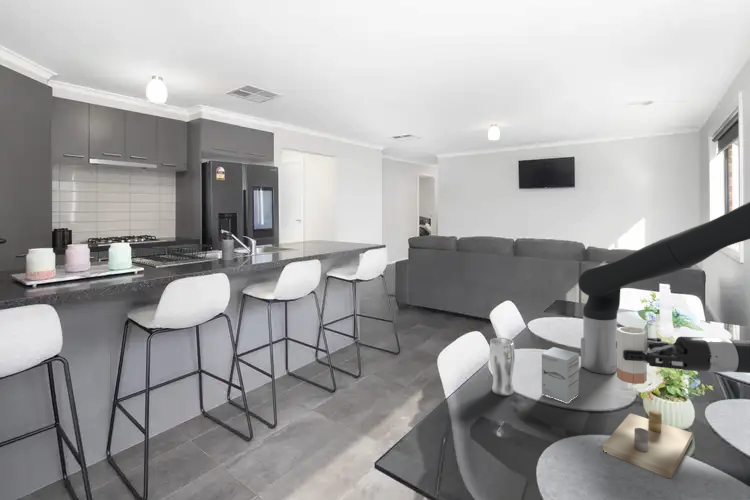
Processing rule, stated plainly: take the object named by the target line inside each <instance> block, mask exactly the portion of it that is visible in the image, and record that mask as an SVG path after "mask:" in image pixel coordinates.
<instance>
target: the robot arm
mask: <svg viewBox="0 0 750 500" xmlns="http://www.w3.org/2000/svg"><path fill="white" fill-rule="evenodd" d="M749 240H750V201H748V202H747V203H744V204H742V205H740V206H738V207H736V208H735V209H732V210H730V211H729V212H727V213H725V214H723V215H720V216H718V217H716V218H714V219H712V220H709V221H707V222H704V223H701V224H699V225H696V226H694V227H691V228H688V229H685V230H683V231H680V232H678V233H675V234H673V235H670V236H668V237H667V236H666V237H665V238H662V239H659V240H656V241H655V242H652V243H651V244H648V245H646V246H644V247H641V248H640V249H637V250H636V251H634V252H632V253H630V254H628V255H626V256H624V257H621V258H620V259H618V260H616V261H612V262H609V263H607V264H601V265H596V266H593V267H590V268H587V269H586V270H584V271H582V273H581V275H580V276H579V278H578V288H579V290H580V291H581V292H582V293H583V294H585V295H587V296H588V298H587V301H586V303H585V305H584V306H583V309H582V314H583V321H582V322H583V323H582V325H583V327H582V328H583V329H582V330H583V331H582V332H583V334H582V336H583V337H581V338H580V367H581V368H583V367H584V368H583V369H585V370H587V371H589V372H593V373H596V374H601V375H603V374H604V375H610V374H615V373H617V329H618V311H619V308H620V303H621V302H620V301H621V288H622V287H625V286H627V285H630V284H633V283H637V282H641V281H645V280H646V281H647V280H650V279H653V278H658V277H659V278H660V277H661V276H667V275H669V274H673V273H676V272H679V271H682V270H684V269H688V268H690V267H693V266H695V265H697V264H699V263H701V262H703V261H705V260H706V259H708V258H709V257H711V256H713V255H714V254H716V253H717V252H719V251H721V250H722V249H724V248H727V247H728V246H729V247H730V246H732V245H735V244H737V243H741V242H745V241H749ZM623 358H624V359H625V360H631V361H643V362H644V363H647V364H649V367H656V368H664V369H665V368H666V369H673V370H675V369H676V370H684V371H691V372H693V371H694V372H707V373H708V372H710V373H740V374H741V373H743V374H744V373H745V374H750V340H747V339H746V340H745V339H744V340H743V339H725V338H719V337H718V338H717V337H703V336H702V337H700V336H678V337H677V338H676V339H675V342H673V343H671V342H668V341H665V340H664V341H663V340H662V338H660V337H647V351H643V352H642V351H635V350H624V351H623Z"/></svg>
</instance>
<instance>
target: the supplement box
mask: <svg viewBox="0 0 750 500" xmlns="http://www.w3.org/2000/svg"><path fill="white" fill-rule="evenodd" d="M579 381H580V353H579V352H576V351H575V352H574V351H570V350H567V349H563V348H559V347H557V346H556V347H554V346H552V347H551V348H549V349H547V350H545V351H544V352H542V353H541V395H542V394H544V395H548V396H550V397H553V398H556V399H559V400H562V401H564V402H569V401H570V400H571V399H573V398H574V397H576V396H577V395H578V396H579V387H580V382H579ZM576 398H577V397H576Z"/></svg>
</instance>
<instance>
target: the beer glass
mask: <svg viewBox="0 0 750 500" xmlns="http://www.w3.org/2000/svg"><path fill="white" fill-rule="evenodd" d="M489 361H490V368H491V373H492V378H493V379H492V380H493V382H492V387H491V390H492V393H494V394H495V395H498V396H502V397H506V396H512V395H513V394H514V392H515V389H514V386H513V377H514V371H515V370H514V369H515V362H516V351H515V341H514V340H513V339H511V338H508V337H507V338H506V337H494V338H491V339H490V340H489Z"/></svg>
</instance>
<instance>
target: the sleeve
mask: <svg viewBox="0 0 750 500" xmlns="http://www.w3.org/2000/svg"><path fill="white" fill-rule="evenodd" d="M647 338H648V331H647V330H645V329H644V328H641V327H635V326H620V327H619V326H618V327H617V359H616V363H617V366H616V378H617V379H619V380H620V381H622V382H623V383H624V382H625V383H628V384H632V385H637V384H638V385H639V384H641V385H643V384H645V383H646V382H647V379H648V378H647V377H648V376H647V375H648V373H647V372H648V370H647V369H648V368H647V366H648V363H644V362H643V361H631V360H625V359H624V358H623V351H624V350H635V351H642V352H643V351H647Z"/></svg>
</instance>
